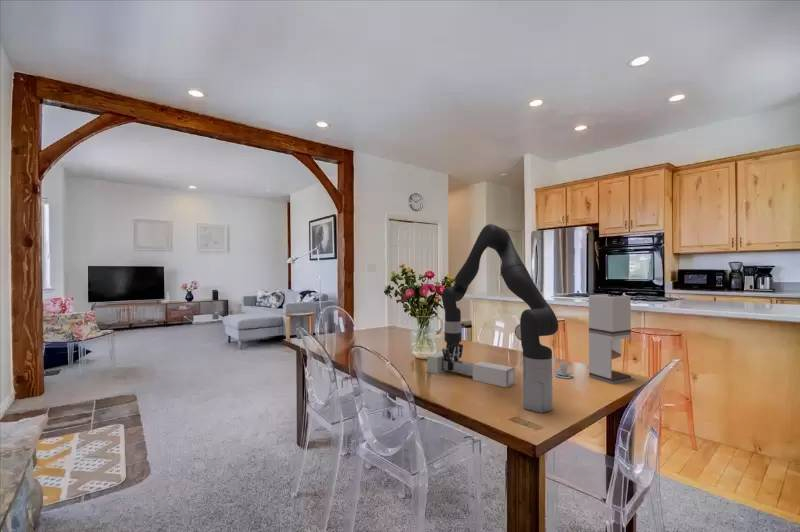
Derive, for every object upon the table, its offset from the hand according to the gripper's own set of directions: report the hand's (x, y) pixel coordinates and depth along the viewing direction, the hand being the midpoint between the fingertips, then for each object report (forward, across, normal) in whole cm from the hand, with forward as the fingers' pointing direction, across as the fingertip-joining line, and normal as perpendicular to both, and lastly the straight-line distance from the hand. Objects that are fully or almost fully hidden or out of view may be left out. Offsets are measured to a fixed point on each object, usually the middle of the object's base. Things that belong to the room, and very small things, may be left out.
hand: (453, 369), depth 163 cm
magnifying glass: (+2, +33, -19) cm, 38 cm away
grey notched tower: (+2, +35, -55) cm, 65 cm away
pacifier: (+2, +26, -39) cm, 47 cm away
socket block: (+2, 0, +7) cm, 7 cm away
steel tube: (0, 0, -4) cm, 4 cm away
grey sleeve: (+2, 0, -19) cm, 19 cm away
